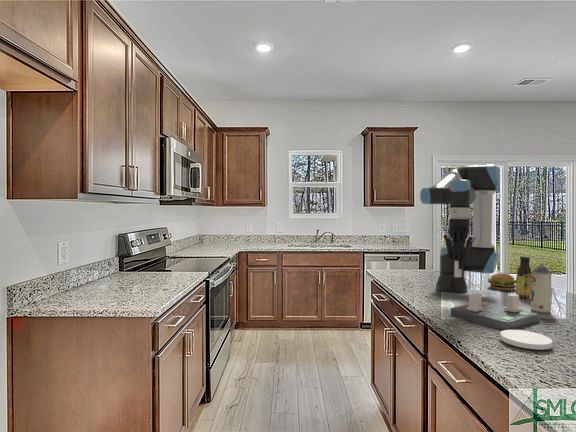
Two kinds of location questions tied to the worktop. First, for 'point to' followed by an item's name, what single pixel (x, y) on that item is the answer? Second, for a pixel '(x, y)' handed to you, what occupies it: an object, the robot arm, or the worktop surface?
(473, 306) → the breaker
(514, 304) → the lever
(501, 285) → the food
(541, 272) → the aerosol can
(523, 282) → the sauce bottle
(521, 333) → the plastic lid
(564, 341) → the worktop surface
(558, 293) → the worktop surface
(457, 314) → the breaker box
